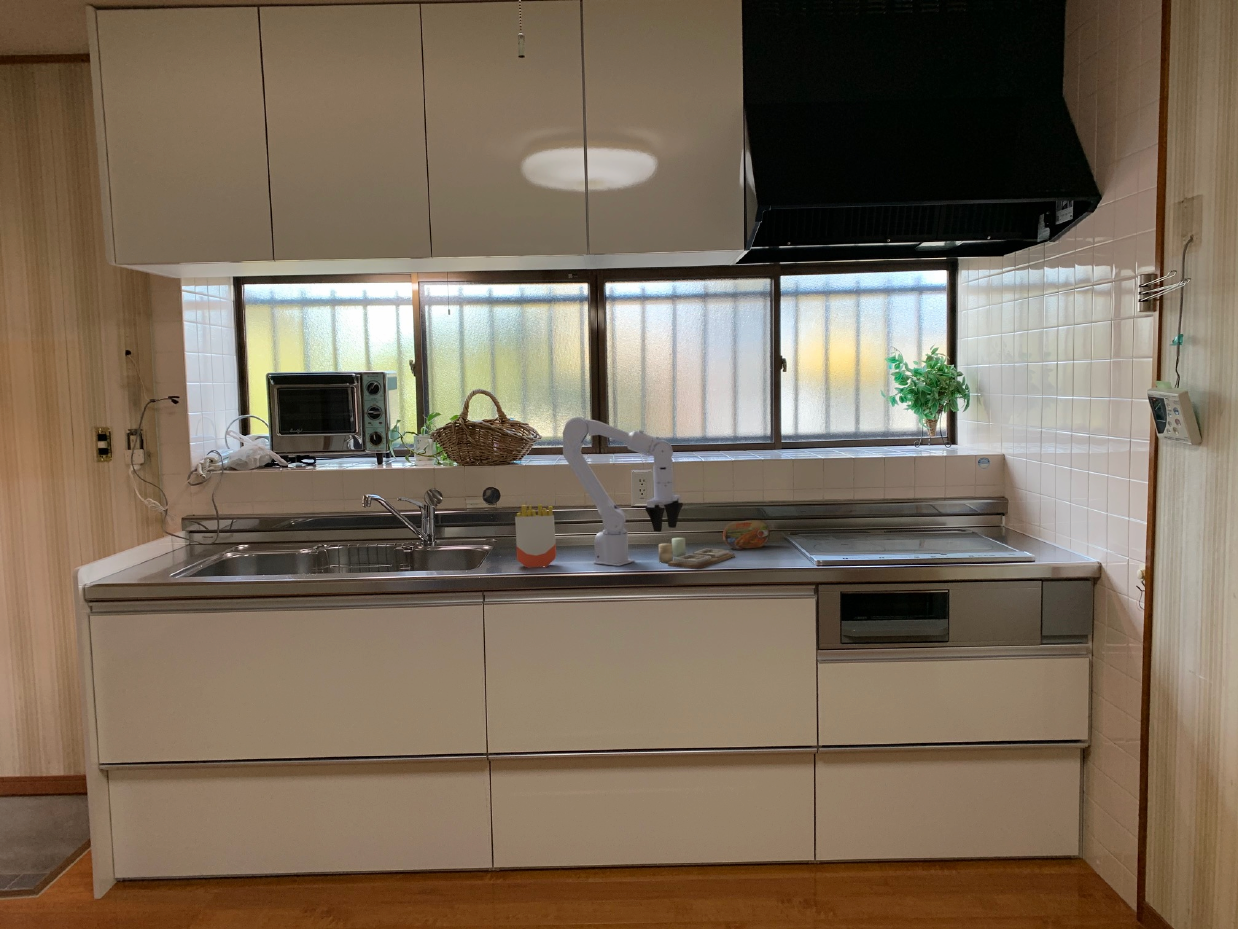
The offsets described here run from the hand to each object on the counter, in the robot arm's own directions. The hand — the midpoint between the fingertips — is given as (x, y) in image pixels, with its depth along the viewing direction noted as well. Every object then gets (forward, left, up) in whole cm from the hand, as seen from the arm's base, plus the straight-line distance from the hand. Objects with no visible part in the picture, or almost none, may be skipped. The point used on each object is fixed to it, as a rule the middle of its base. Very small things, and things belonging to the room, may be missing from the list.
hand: (665, 529), depth 239 cm
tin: (+10, +30, -10) cm, 33 cm away
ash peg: (0, 0, -9) cm, 9 cm away
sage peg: (-2, +10, -9) cm, 14 cm away
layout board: (+9, +5, -9) cm, 14 cm away
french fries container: (-30, -22, -10) cm, 38 cm away
